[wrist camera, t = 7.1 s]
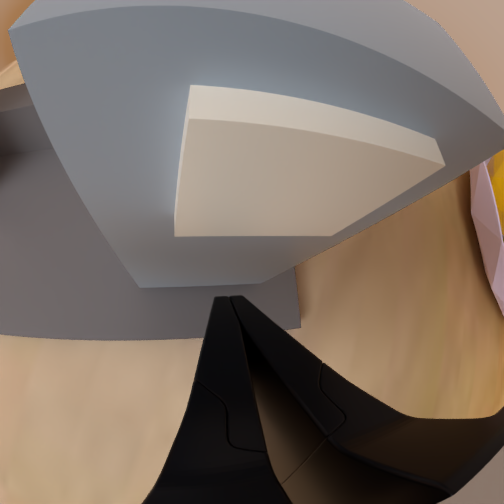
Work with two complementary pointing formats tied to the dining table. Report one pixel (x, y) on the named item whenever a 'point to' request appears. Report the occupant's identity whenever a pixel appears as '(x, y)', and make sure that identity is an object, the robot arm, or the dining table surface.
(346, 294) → the dining table surface
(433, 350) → the dining table surface
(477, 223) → the fruit bowl
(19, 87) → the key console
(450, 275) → the dining table surface
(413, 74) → the slate key
